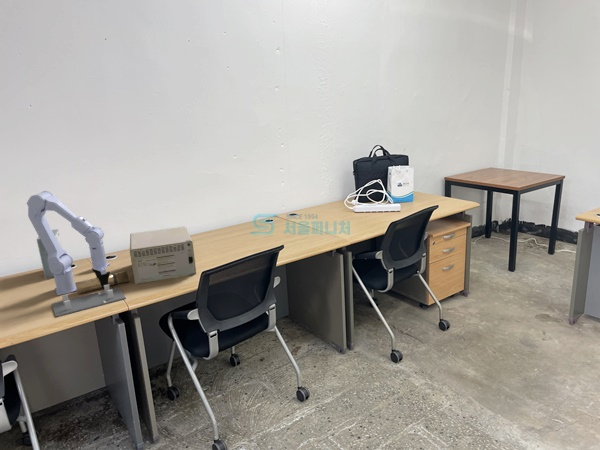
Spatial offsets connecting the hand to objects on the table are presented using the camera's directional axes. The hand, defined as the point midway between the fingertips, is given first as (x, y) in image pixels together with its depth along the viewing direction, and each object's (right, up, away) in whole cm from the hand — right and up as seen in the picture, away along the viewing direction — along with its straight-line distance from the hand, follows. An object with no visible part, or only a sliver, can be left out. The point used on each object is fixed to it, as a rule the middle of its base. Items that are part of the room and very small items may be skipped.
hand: (103, 285), depth 198 cm
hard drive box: (-34, +3, +23) cm, 41 cm away
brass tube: (0, -1, 0) cm, 1 cm away
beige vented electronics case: (+21, +5, +21) cm, 30 cm away
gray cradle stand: (0, -5, -14) cm, 14 cm away
